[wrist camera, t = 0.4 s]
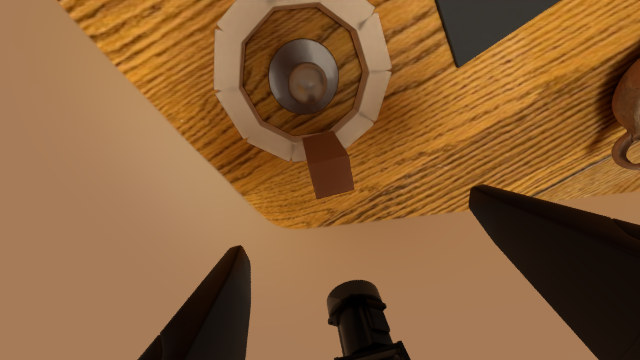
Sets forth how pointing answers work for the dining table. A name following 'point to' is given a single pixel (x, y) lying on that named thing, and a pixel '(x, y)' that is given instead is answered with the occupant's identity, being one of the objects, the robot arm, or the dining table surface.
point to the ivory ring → (317, 149)
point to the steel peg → (303, 76)
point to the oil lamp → (627, 114)
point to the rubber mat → (484, 22)
